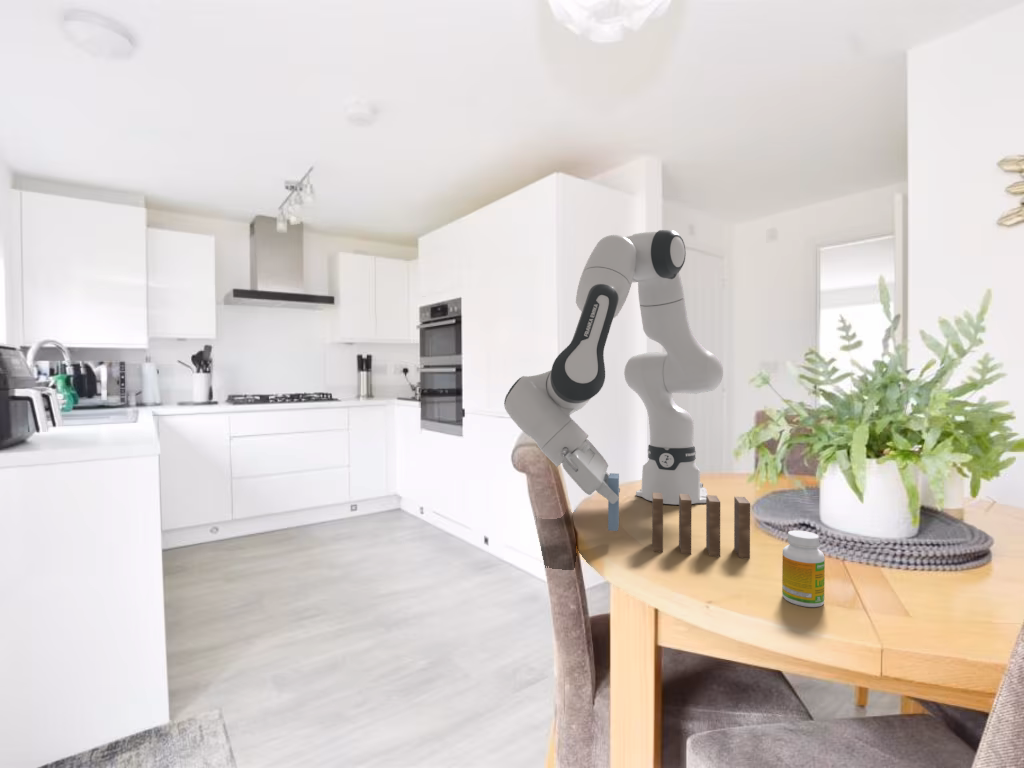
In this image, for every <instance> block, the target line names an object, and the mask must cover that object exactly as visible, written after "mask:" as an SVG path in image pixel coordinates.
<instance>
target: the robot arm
mask: <svg viewBox="0 0 1024 768" xmlns="http://www.w3.org/2000/svg"><path fill="white" fill-rule="evenodd" d="M686 255H687V253H686V245H685V242H684V239H683V238H682V237H681V236H680V234H679V233H678V232H677V231H675V230H671V229H660V230H657V231H649V232H648V231H645V232H638V233H634V234H632V235H627V236H623V235H619V234H611V235H606V236H604V237H602V238H601V239H600V240H599V241H598V242H597V243H596V245H595V247H594V249H592V252H591V254H590V255H589V258H588V259H587V261H586V263H585V266H584V267H583V270H582V273H581V275H580V278H579V282H578V285H577V290H576V296H575V303H576V306H577V308H578V309H579V310H580V313H581V314H580V316H579V320H578V322H577V324H576V325H577V326H576V327H575V330H574V333H573V337H572V339H571V341H570V342H569V345H567V347H565V348H564V349H563V350H562V351H561V352H560V353H559V354H558V355H557V357H556V358H555V359H554V361H553V363H552V365H551V370H549V371H546V372H543V373H540V374H536V375H529V376H527V375H526V376H525V375H523V376H520V377H519V378H518V379H517V380H516V381H515V382H514V383H513V384H512V386H511V387H510V388H509V390H508V392H507V393H506V395H505V398H504V400H503V401H504V403H503V404H504V405H503V406H504V407H503V408H504V409H505V411H506V413H507V415H508V416H509V417H510V419H511V420H512V421H513V422H514V423H515V425H516V426H517V427H518V428H519V429H520V430H521V431H522V432H523V433H524V434H525V435H526V436H528V437H530V438H531V439H532V440H533V442H535V443H536V445H537V447H538V449H539V448H540V449H539V450H541V452H542V453H543V454H544V456H546V457H547V459H548V460H549V461H551V463H553V464H554V466H555V467H557V468H558V467H559V466H560V465H561V464H562V468H563V469H564V471H565V472H566V473H567V474H568V475H569V478H571V479H572V480H573V481H574V483H576V485H577V486H578V487H579V488H580V489H581V490H582V491H583V492H584V493H585V494H586V495H588V496H589V495H590V496H591V495H592V494H594V492H595V491H596V493H598V494H599V495H601V496H602V497H603V498H605V499H606V500H607V502H608V501H609V502H610V503H611V504H614V503H615V502H616V501H618V499H619V500H620V495H619V496H618V495H617V494H616V493H615V491H614V490H612V489H611V488H610V487H609V486H608V477H609V474H610V473H608V472H607V471H608V467H609V464H608V462H607V461H606V458H604V456H603V455H602V454H601V452H600V451H599V450H598V449H597V448H596V447H595V446H594V445H593V443H592V442H591V440H589V439H588V438H589V435H588V434H587V433H586V431H584V429H582V428H581V426H580V425H578V423H576V421H575V420H574V419H572V417H571V415H572V414H573V413H575V412H578V411H579V410H581V409H582V408H584V406H586V405H587V404H588V402H590V400H591V399H592V398H594V397H596V395H598V394H599V392H600V391H601V390H602V388H603V387H604V384H605V380H606V367H605V359H604V358H605V357H604V354H605V353H604V351H605V346H606V343H607V339H608V336H609V334H610V330H611V327H612V323H613V321H614V319H615V318H616V317H618V315H619V313H620V312H621V311H622V309H623V306H624V305H625V303H626V300H627V298H628V296H629V293H630V290H631V288H632V287H631V286H632V283H637V290H638V294H637V295H638V302H639V309H640V316H641V322H642V330H643V332H644V334H645V336H646V337H648V338H649V339H650V340H652V341H654V342H656V343H658V344H659V345H660V346H662V347H663V349H664V350H665V351H663V352H662V351H660V352H645V353H641V354H636V355H632V356H631V357H630V358H629V359H628V360H627V361H626V364H625V367H624V373H623V374H624V380H625V382H626V384H627V386H628V387H629V388H630V389H631V390H632V391H634V392H635V393H636V394H637V395H638V397H639V398H640V399H641V401H642V403H643V404H644V407H645V410H646V412H647V416H648V425H649V444H648V447H647V459H648V461H647V462H646V463H645V464H643V465H642V472H641V473H642V475H641V489H638V490H636V491H635V496H638V497H642V498H643V499H644V500H647V501H650V502H652V493H662V496H663V505H676V506H677V505H678V506H679V494H689V496H690V498H691V500H692V501H691V505H693V504H694V505H695V504H706V495H709V494H708V490H707V488H706V487H704V483H703V482H701V469H699V466H697V463H696V453H697V452H696V448H695V446H694V419H693V416H692V415H691V413H690V412H689V411H688V410H686V409H684V408H682V407H680V406H679V405H677V403H676V402H675V400H674V397H673V394H690V395H691V394H695V395H697V394H701V393H708V392H709V393H710V392H713V391H715V390H717V388H718V387H719V386H720V384H721V382H722V380H723V377H724V368H723V364H722V362H721V360H720V359H719V357H718V356H717V355H716V354H715V353H712V352H711V351H709V350H708V349H707V348H705V347H704V346H703V345H702V343H700V342H699V341H698V339H697V338H696V336H695V335H694V333H693V331H692V328H691V326H690V323H689V322H690V321H689V318H688V313H687V308H686V307H687V306H686V300H685V299H686V298H685V293H684V288H683V287H684V286H683V283H682V278H681V275H680V271H681V270H682V268H683V266H684V264H685V262H686ZM620 492H621V488H620V487H619V493H620Z"/></svg>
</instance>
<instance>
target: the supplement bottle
mask: <svg viewBox="0 0 1024 768" xmlns="http://www.w3.org/2000/svg"><path fill="white" fill-rule="evenodd" d="M787 542H788V544H787V545H786V546H784V547H783V549H782V567H781V568H782V569H781V570H782V571H781V572H782V573H781V574H782V576H781V577H782V580H781V581H782V582H781V585H782V587H781V594H782V597H783V598H784V600H786V601H787V602H789V603H791V604H793V605H796V606H800V607H805V608H819V607H821V606H824V604H825V577H826V575H825V565H826V564H825V563H826V561H825V560H826V559H825V555H824V552H823V551H822V550H820V549H819V547H820V536H819V535H818V534H817V533H814V532H811V531H805V530H798V529H797V530H795V529H793V530H790V531H789V530H788V532H787Z"/></svg>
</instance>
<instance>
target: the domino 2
mask: <svg viewBox="0 0 1024 768" xmlns="http://www.w3.org/2000/svg"><path fill="white" fill-rule="evenodd" d="M651 509H652V512H651V513H652V517H651V518H652V519H651V520H652V521H651V522H652V523H651V525H652V526H651V527H652V528H651V529H652V531H651V535H652V536H651V537H652V538H651V539H652V541H651V542H652V544H651V546H652V545H653V546H652V552H653V551H660V552H659V553H664V503H663V496H662V493H652V501H651Z"/></svg>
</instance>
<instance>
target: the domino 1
mask: <svg viewBox="0 0 1024 768" xmlns="http://www.w3.org/2000/svg"><path fill="white" fill-rule="evenodd" d="M608 474H609V477H608V486H609V487H610V488H611V489H612V490H614V491H615V493H616V494H617V495H618V496H619V497H620V492H619V488H620V473H615V472H614V473H612V472H611V473H608ZM607 502H608V503H607V506H608V507H607V517H608V518H607V521H608V522H607V531H613V532H614V531H615V532H618V531H619V525H620V498H619V499H618V501H616V502H615V503H614V504H611V503H610V502H609V501H608V500H607Z"/></svg>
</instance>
